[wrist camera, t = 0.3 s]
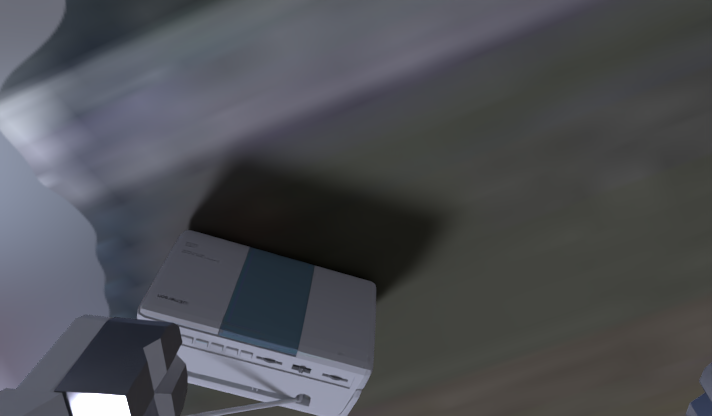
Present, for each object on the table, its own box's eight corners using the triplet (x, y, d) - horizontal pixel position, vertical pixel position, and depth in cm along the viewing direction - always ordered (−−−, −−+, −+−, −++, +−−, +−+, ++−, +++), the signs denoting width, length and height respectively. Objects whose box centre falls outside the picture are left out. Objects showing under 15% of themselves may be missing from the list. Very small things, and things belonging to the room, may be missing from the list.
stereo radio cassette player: (380, 273, 59) (373, 440, 42) (356, 325, 63) (342, 496, 46) (186, 217, 56) (97, 371, 39) (176, 276, 61) (91, 437, 44)
